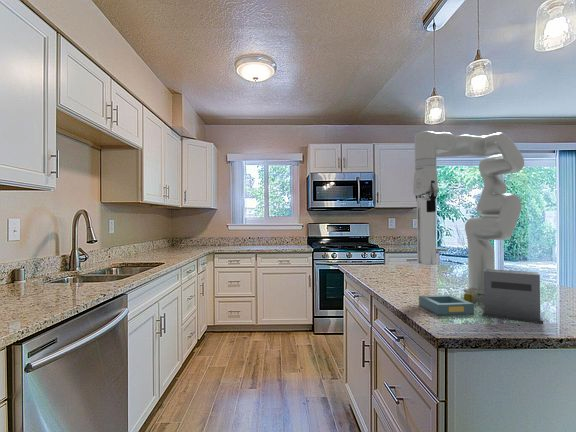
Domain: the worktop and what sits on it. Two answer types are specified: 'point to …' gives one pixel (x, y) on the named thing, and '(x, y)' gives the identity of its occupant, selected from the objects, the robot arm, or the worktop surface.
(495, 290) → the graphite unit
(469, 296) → the medication box
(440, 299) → the socket block
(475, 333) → the worktop surface
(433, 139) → the robot arm
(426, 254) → the white tall cylinder
